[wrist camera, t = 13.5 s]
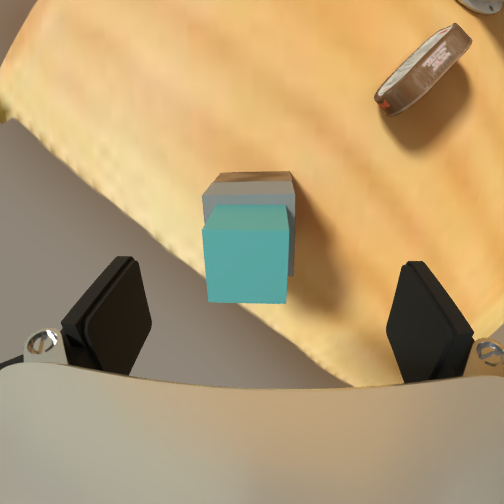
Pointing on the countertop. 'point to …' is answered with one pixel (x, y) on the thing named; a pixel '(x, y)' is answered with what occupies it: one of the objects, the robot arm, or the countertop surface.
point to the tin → (422, 70)
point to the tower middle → (255, 202)
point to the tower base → (254, 176)
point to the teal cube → (247, 254)
